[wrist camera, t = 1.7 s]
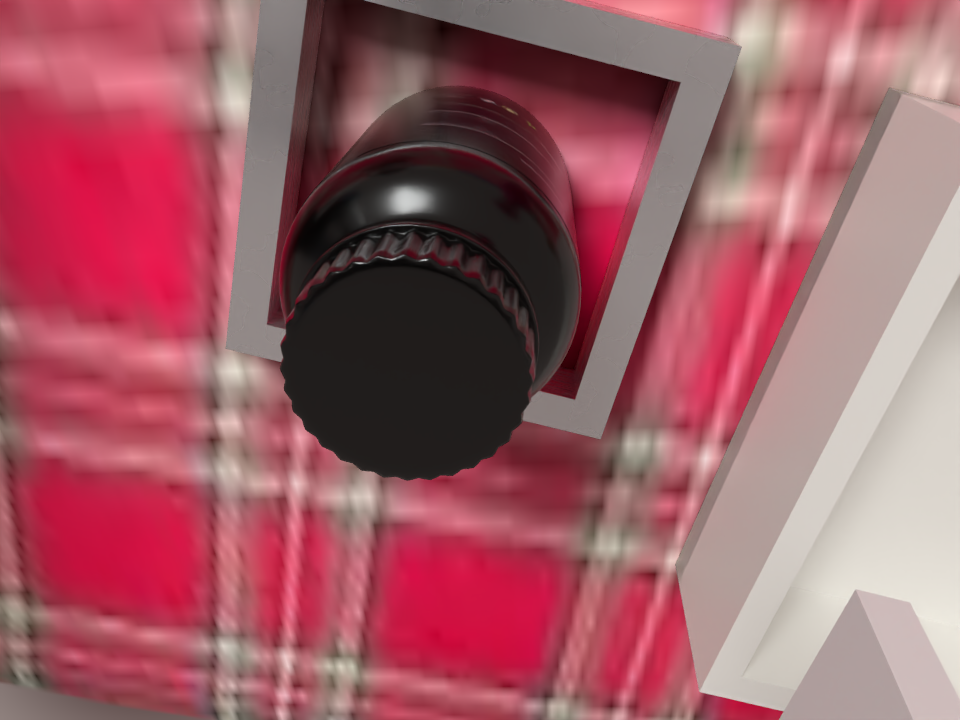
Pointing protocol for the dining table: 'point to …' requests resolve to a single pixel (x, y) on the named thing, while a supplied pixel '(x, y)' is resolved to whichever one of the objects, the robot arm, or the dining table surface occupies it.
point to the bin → (845, 432)
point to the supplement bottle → (430, 285)
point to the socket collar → (529, 18)
